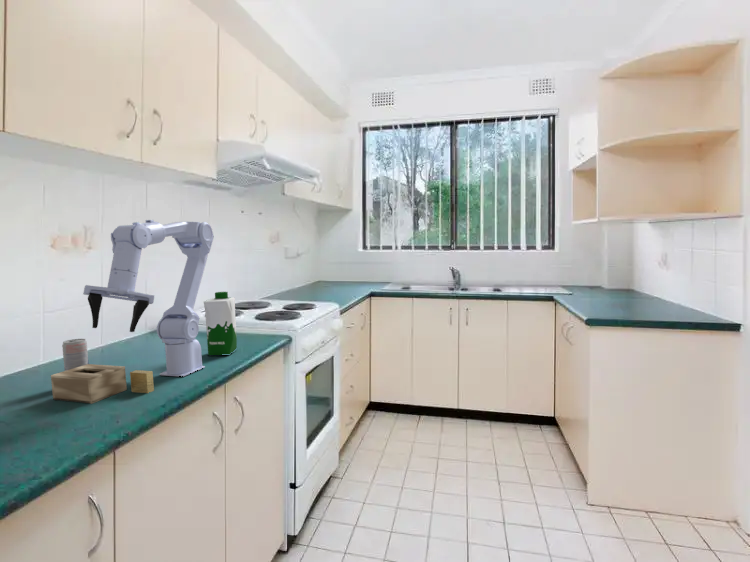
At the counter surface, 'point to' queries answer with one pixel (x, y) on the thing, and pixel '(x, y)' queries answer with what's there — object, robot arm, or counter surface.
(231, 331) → the milk carton
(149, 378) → the block
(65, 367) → the energy drink
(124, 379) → the box
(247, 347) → the counter surface
